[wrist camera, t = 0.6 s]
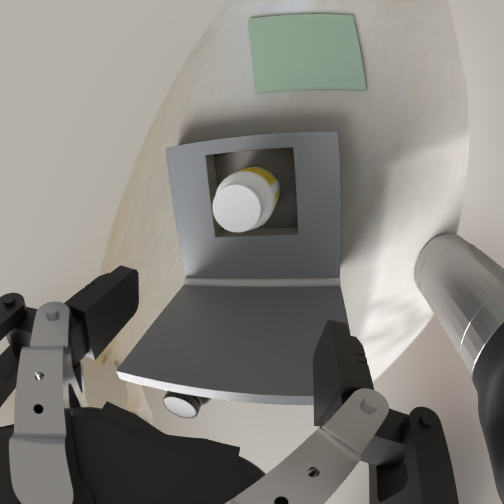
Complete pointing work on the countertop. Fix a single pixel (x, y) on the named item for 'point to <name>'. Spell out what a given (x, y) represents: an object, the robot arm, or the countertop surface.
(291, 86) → the mat
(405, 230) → the countertop surface
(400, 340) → the countertop surface
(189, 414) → the supplement bottle
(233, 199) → the supplement bottle
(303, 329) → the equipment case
